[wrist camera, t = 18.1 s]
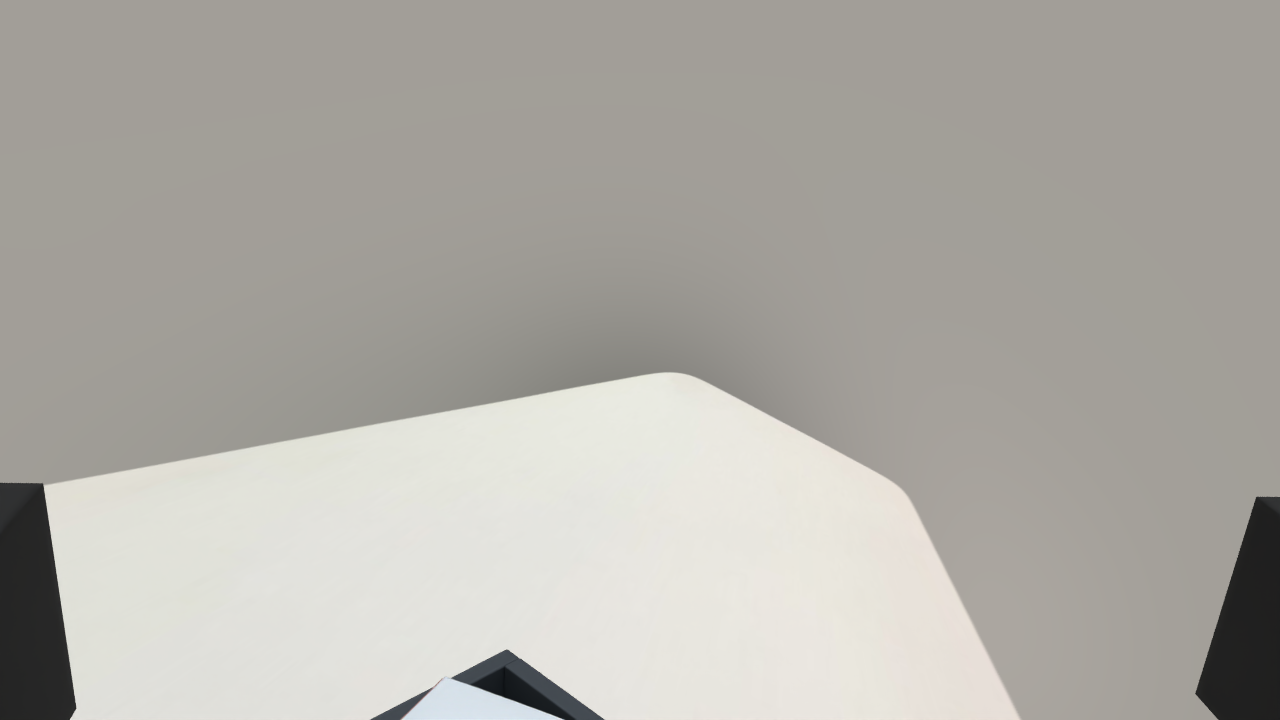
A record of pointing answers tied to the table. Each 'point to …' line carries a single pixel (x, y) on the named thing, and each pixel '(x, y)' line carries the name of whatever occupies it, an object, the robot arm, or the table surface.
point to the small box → (470, 705)
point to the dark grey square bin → (511, 689)
